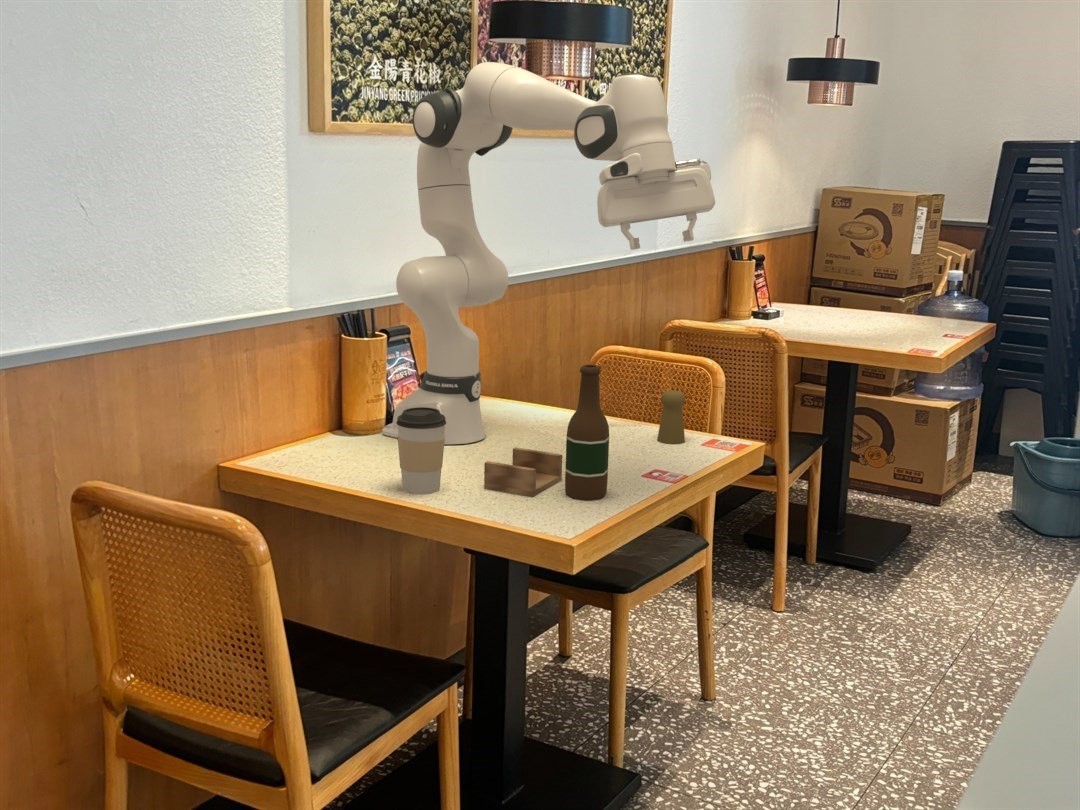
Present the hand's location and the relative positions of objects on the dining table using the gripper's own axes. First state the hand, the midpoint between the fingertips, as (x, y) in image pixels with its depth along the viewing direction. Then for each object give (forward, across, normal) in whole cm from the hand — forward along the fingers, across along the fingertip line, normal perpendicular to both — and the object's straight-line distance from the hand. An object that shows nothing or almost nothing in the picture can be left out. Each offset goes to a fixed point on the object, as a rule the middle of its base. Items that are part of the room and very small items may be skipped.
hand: (662, 245), depth 198 cm
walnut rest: (+38, +29, -19) cm, 52 cm away
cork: (+37, -5, -50) cm, 63 cm away
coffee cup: (+36, +48, -16) cm, 62 cm away
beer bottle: (+42, +19, -13) cm, 48 cm away
